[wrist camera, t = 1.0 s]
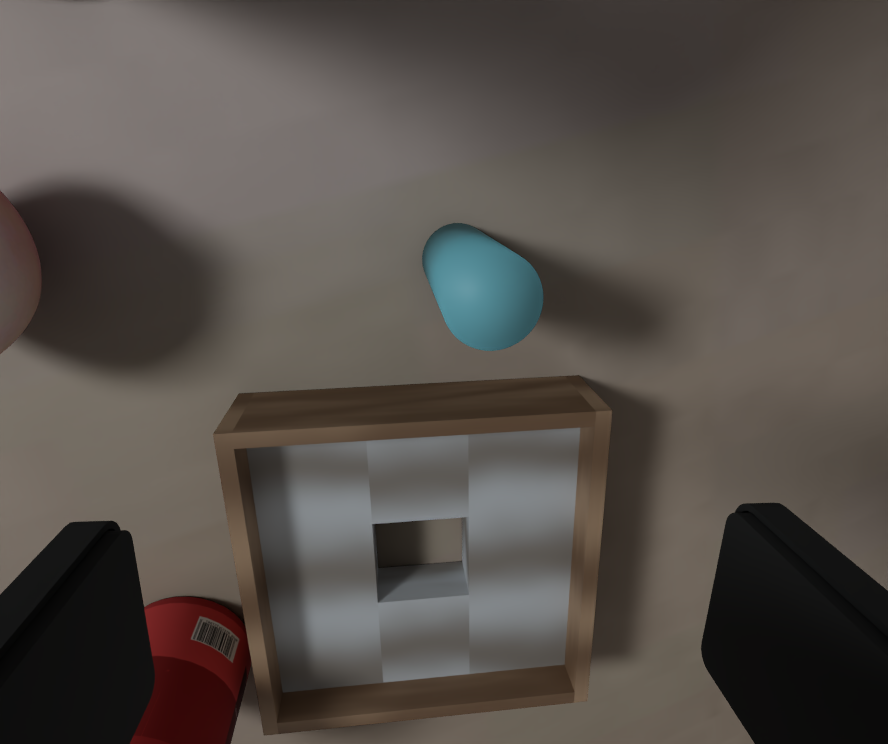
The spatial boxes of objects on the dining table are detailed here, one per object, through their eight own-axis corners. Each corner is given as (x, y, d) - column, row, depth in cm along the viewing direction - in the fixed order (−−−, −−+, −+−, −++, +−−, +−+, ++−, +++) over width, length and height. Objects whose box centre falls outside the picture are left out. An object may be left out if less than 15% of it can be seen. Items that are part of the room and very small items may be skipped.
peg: (421, 224, 29) (440, 251, 19) (492, 222, 29) (545, 247, 20) (423, 295, 30) (442, 352, 20) (491, 292, 30) (541, 348, 21)
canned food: (113, 593, 34) (-5, 778, 24) (252, 590, 35) (198, 767, 25) (128, 691, 36) (28, 898, 26) (258, 687, 37) (211, 884, 27)
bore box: (238, 393, 31) (213, 434, 26) (578, 375, 32) (612, 410, 28) (278, 663, 37) (263, 735, 32) (562, 636, 39) (587, 701, 34)
